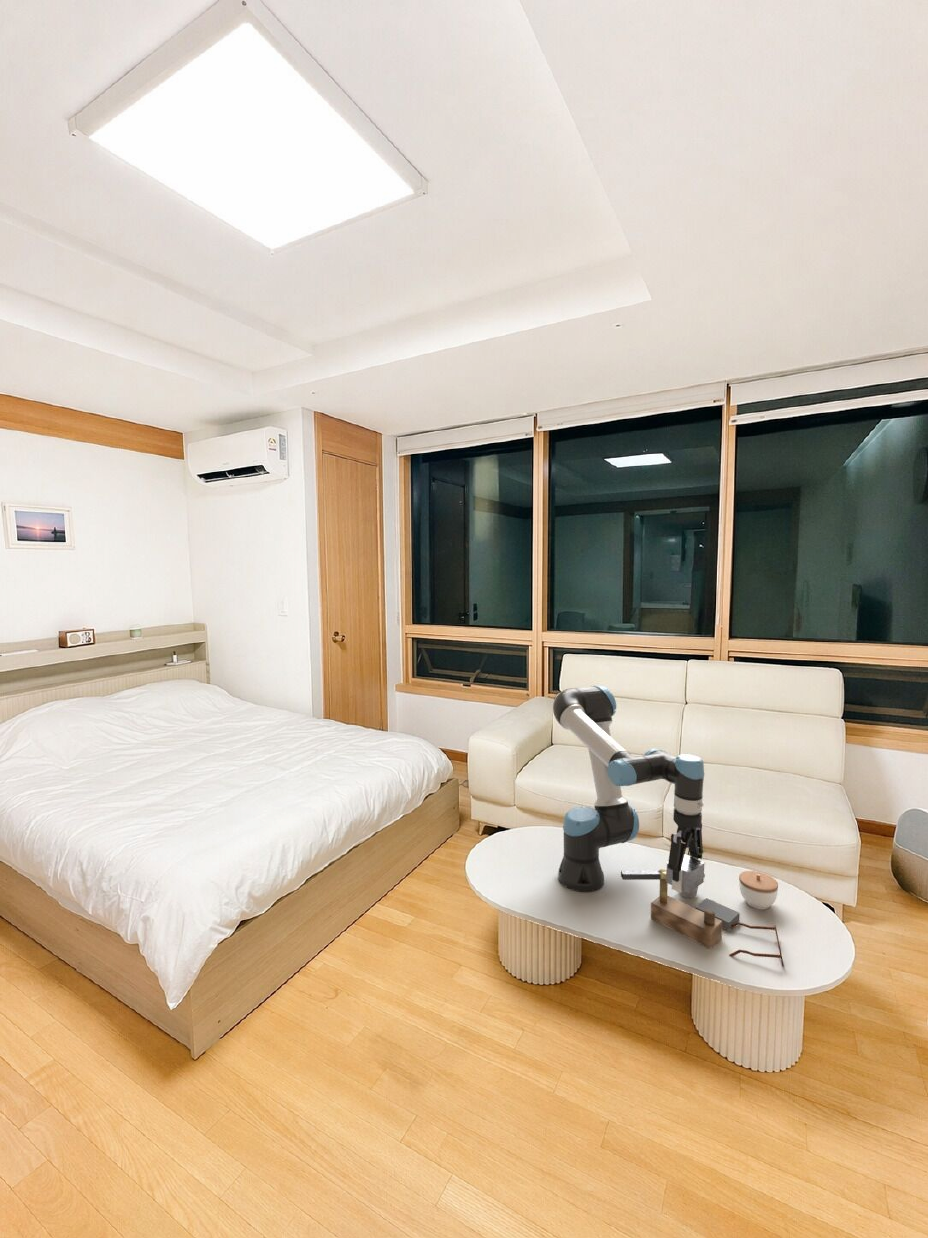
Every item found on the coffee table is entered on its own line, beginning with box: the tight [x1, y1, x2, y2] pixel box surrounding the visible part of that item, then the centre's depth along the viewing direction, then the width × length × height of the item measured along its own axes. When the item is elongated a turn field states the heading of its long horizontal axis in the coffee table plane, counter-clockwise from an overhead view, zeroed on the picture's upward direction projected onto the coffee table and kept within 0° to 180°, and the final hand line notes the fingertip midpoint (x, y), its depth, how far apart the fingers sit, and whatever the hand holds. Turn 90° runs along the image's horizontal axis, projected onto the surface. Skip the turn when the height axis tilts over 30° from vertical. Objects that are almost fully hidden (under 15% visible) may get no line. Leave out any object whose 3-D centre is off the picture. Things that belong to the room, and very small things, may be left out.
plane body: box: [650, 880, 723, 950], centre depth 160 cm, size 18×7×12 cm, turn 41°
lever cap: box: [666, 854, 705, 893], centre depth 160 cm, size 7×8×6 cm
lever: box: [620, 868, 667, 881], centre depth 165 cm, size 14×3×2 cm, turn 89°
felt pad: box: [694, 898, 741, 932], centre depth 165 cm, size 10×7×2 cm
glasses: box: [728, 922, 785, 966], centre depth 152 cm, size 13×13×5 cm
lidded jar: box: [738, 870, 779, 910], centre depth 172 cm, size 11×11×9 cm
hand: (684, 884), depth 160 cm, fingers closed on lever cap, 8 cm apart
